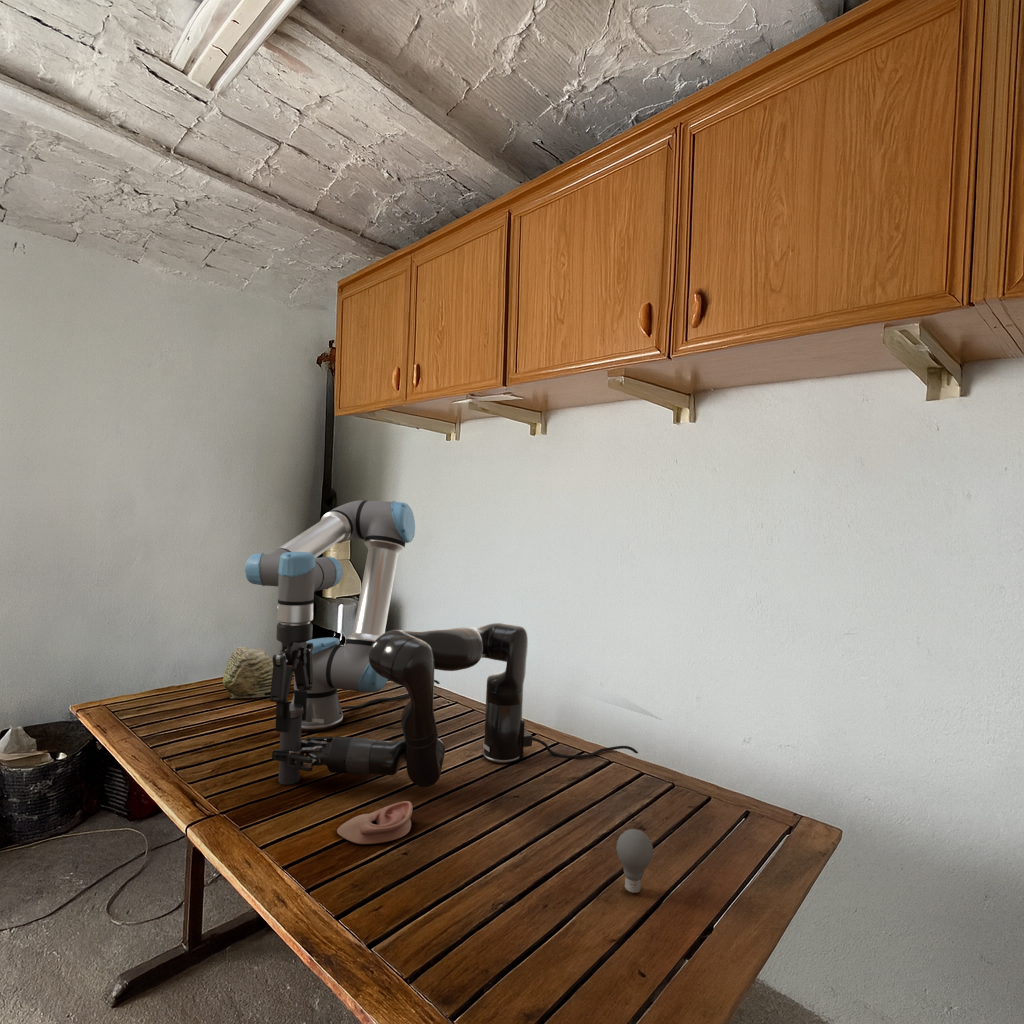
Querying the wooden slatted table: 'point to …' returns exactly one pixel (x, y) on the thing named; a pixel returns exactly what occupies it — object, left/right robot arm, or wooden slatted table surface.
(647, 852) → the light bulb
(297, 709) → the lid
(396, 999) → the wooden slatted table surface
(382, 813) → the anatomical model
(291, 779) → the dark grey cylinder
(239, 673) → the fossil
